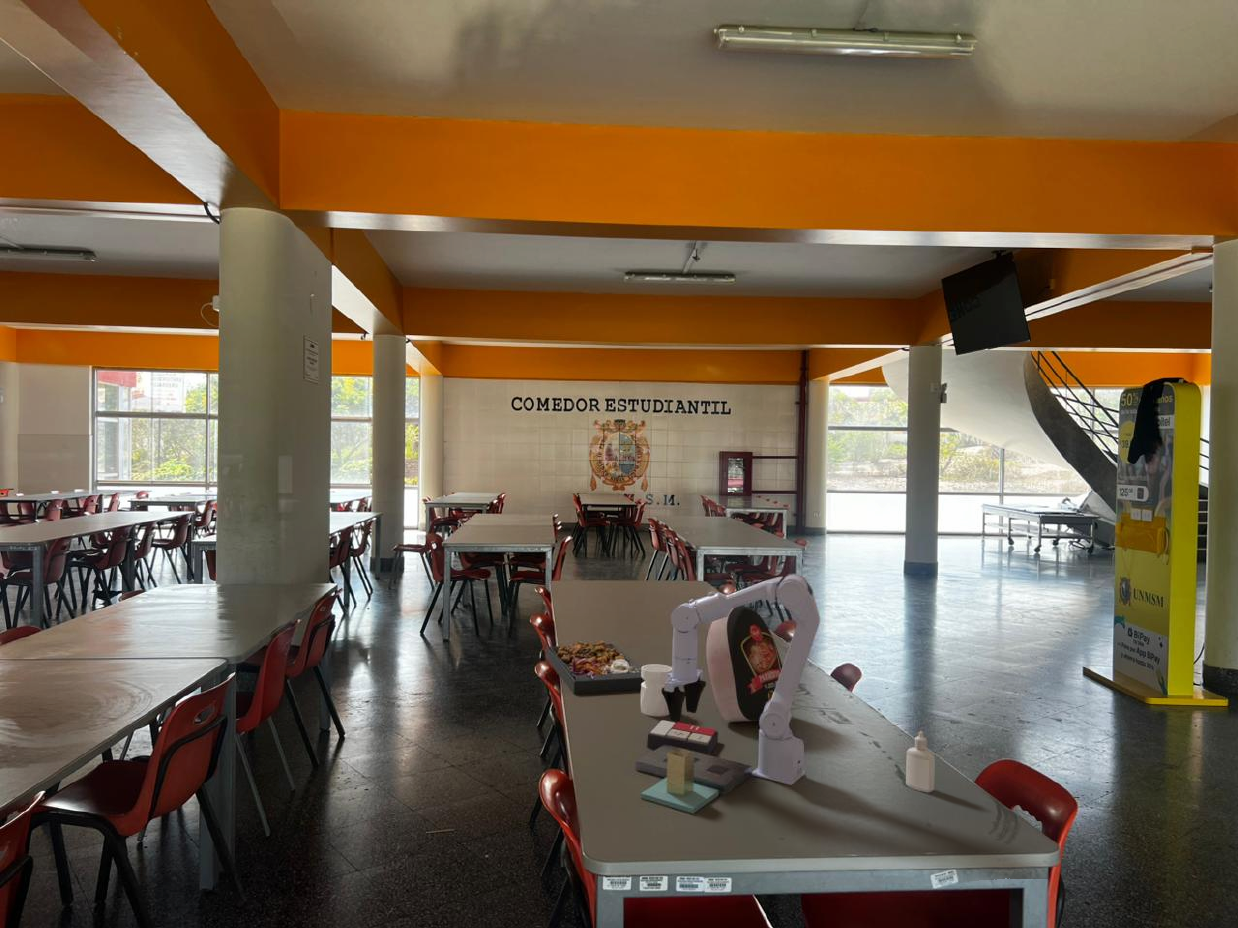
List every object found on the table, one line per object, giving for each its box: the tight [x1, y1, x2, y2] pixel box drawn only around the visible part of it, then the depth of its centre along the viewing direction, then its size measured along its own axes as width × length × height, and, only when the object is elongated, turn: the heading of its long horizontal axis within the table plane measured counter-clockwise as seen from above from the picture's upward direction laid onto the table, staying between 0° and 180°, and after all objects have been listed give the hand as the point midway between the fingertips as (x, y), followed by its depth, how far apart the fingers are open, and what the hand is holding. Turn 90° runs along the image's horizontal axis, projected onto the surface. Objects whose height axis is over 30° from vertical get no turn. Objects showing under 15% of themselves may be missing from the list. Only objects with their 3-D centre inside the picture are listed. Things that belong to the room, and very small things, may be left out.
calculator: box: [646, 719, 719, 756], centre depth 191 cm, size 11×4×15 cm
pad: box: [640, 777, 720, 815], centre depth 161 cm, size 12×11×1 cm
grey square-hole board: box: [635, 744, 753, 795], centre depth 174 cm, size 22×13×2 cm, turn 56°
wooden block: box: [667, 748, 694, 797], centre depth 161 cm, size 4×4×8 cm
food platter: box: [545, 640, 645, 696], centre depth 256 cm, size 45×25×10 cm, turn 16°
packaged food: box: [705, 605, 783, 723], centre depth 213 cm, size 22×20×30 cm
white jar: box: [640, 663, 672, 717], centre depth 216 cm, size 9×9×12 cm
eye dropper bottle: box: [905, 730, 936, 793], centre depth 168 cm, size 4×6×12 cm
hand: (683, 716), depth 180 cm, fingers open, 7 cm apart
